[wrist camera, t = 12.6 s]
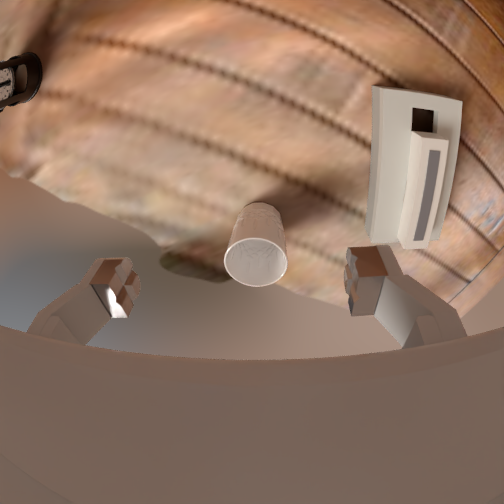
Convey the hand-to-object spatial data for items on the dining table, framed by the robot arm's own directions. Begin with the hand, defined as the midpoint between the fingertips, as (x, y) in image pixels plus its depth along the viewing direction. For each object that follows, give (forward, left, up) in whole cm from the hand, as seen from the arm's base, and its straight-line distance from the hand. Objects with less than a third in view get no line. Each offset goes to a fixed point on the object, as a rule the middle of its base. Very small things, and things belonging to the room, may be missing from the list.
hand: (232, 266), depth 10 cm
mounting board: (+7, +20, -29) cm, 36 cm away
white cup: (+16, -2, -29) cm, 33 cm away
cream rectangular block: (+9, +20, -28) cm, 36 cm away
